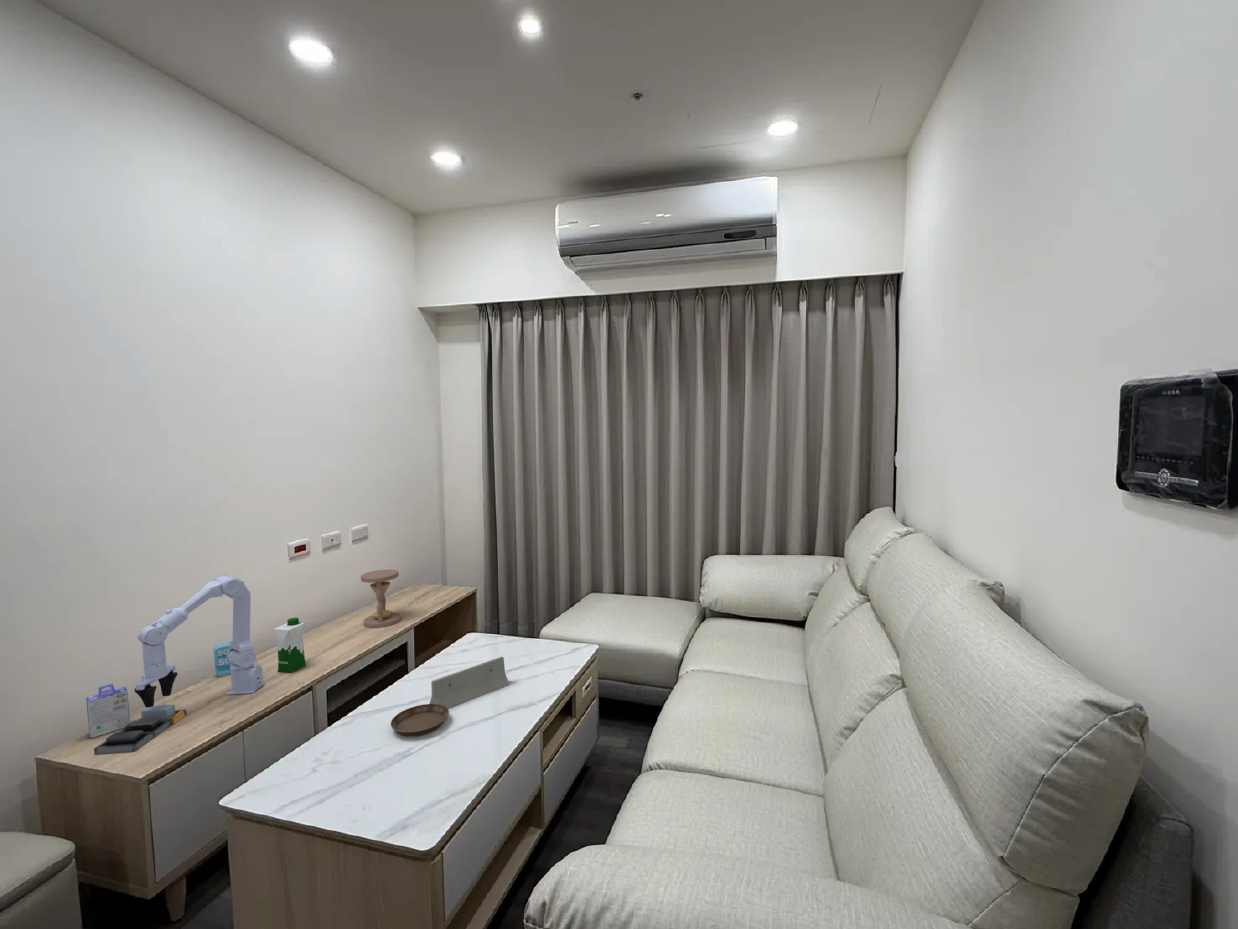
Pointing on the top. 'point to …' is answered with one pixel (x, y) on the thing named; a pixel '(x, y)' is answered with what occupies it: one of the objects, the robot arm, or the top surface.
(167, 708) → the grey-blue rectangular block
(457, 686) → the barrier
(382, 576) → the hourglass
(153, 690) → the robot arm
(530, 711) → the top surface
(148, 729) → the grey tray
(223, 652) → the data package
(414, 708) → the plant saucer
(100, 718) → the ink cartridge box
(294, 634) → the milk carton
